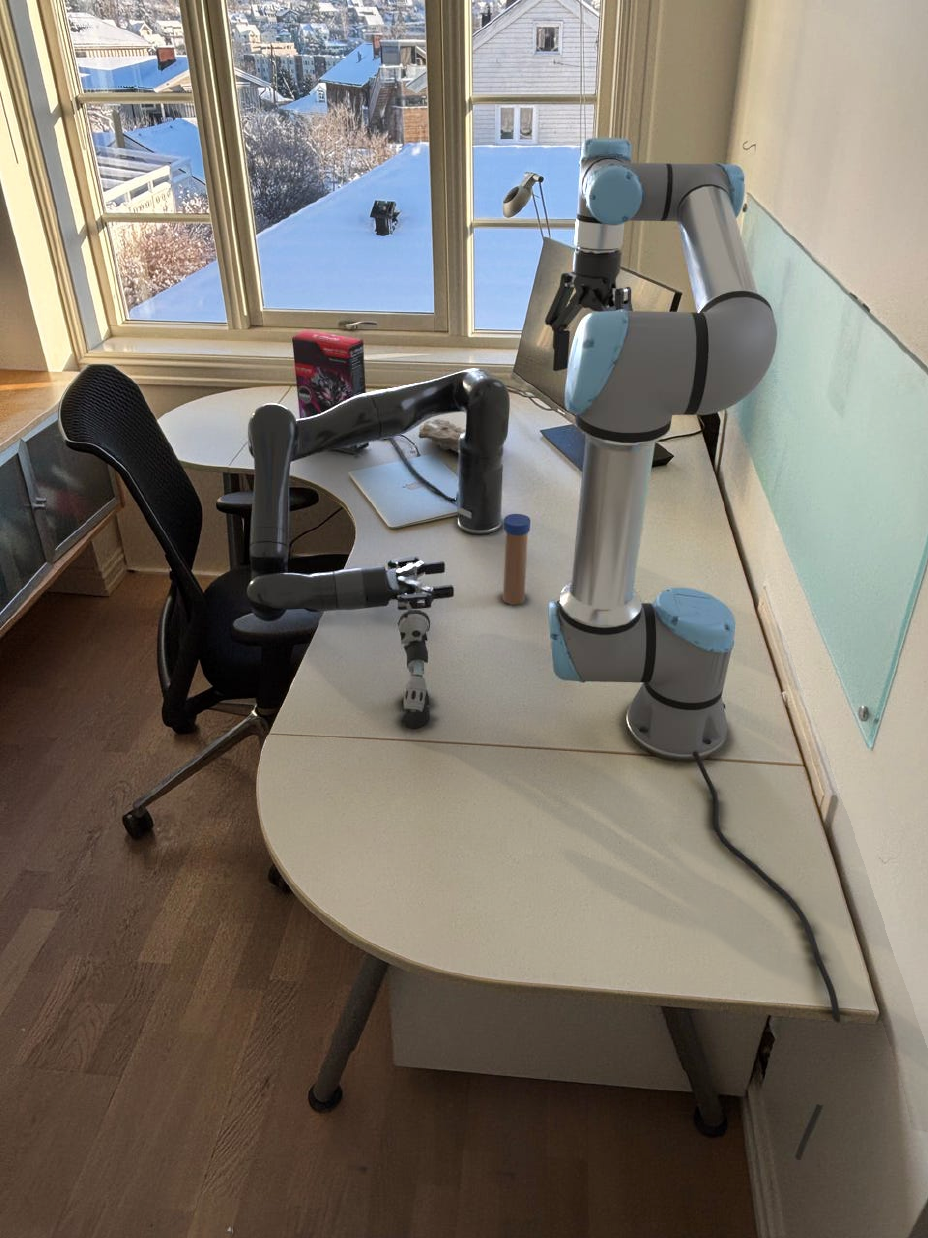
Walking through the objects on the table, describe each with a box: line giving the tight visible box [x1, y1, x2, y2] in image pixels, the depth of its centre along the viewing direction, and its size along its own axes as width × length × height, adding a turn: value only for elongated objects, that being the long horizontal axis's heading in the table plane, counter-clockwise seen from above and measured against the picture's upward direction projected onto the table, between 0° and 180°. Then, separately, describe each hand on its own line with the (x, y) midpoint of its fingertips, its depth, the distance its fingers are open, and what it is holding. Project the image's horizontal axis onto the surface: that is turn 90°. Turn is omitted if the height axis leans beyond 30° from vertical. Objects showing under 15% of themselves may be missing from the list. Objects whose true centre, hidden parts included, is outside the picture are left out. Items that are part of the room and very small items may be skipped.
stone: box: [418, 418, 466, 454], centre depth 230 cm, size 21×15×6 cm
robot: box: [396, 599, 431, 729], centre depth 141 cm, size 20×5×20 cm, turn 3°
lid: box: [503, 513, 531, 535], centre depth 165 cm, size 5×5×2 cm
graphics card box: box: [291, 329, 370, 455], centre depth 226 cm, size 17×7×27 cm, turn 62°
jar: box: [502, 531, 529, 606], centre depth 170 cm, size 4×4×16 cm
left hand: (448, 578), depth 169 cm, fingers open, 8 cm apart
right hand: (587, 379), depth 157 cm, fingers open, 13 cm apart
